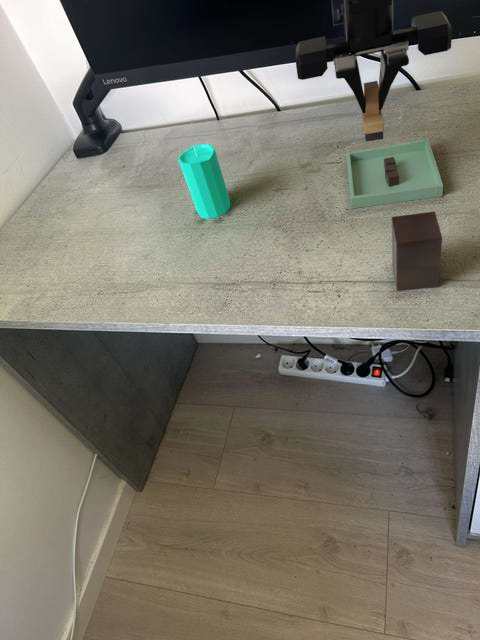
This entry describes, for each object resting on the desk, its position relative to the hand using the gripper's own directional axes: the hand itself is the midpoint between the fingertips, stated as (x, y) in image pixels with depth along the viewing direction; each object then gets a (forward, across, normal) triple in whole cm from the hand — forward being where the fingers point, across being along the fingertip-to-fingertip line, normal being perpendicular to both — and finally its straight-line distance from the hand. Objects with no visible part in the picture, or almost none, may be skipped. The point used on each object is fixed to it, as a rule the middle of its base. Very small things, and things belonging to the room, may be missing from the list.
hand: (372, 110), depth 68 cm
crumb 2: (+12, -3, -2) cm, 13 cm away
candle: (+13, +27, -1) cm, 30 cm away
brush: (+3, 0, 0) cm, 3 cm away
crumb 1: (+12, -3, -4) cm, 13 cm away
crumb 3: (+12, -3, 0) cm, 13 cm away
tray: (+13, -3, -2) cm, 13 cm away
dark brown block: (+12, -3, +21) cm, 25 cm away
